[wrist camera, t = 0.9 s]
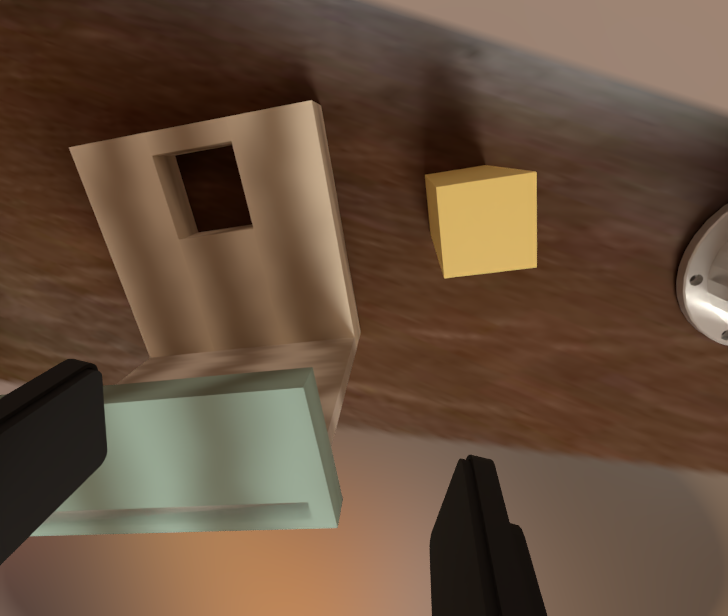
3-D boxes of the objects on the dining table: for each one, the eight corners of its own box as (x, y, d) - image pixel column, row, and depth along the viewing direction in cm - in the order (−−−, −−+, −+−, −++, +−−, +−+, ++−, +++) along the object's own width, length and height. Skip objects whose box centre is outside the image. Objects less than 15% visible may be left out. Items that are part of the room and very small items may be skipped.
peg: (485, 165, 28) (536, 171, 17) (488, 225, 30) (536, 267, 19) (424, 174, 29) (436, 187, 18) (430, 233, 31) (444, 278, 20)
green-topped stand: (334, 102, 28) (213, 15, 10) (372, 336, 34) (337, 528, 17) (88, 150, 31) (-333, 144, 13) (165, 357, 37) (-50, 538, 20)
